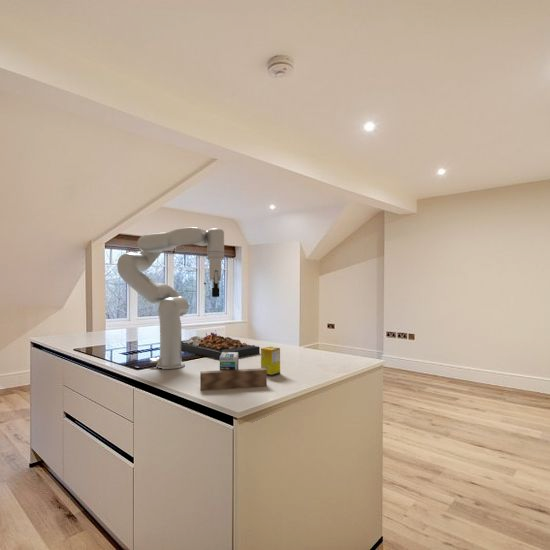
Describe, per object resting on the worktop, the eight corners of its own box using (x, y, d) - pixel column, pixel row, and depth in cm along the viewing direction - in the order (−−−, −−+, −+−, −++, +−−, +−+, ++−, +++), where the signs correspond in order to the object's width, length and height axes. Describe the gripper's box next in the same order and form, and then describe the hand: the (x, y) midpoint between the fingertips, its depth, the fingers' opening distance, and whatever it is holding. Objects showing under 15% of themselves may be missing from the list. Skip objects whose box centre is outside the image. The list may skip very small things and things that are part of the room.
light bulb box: (237, 386, 136) (237, 356, 136) (219, 386, 136) (219, 357, 136) (238, 378, 147) (238, 351, 147) (221, 378, 147) (221, 351, 147)
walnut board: (200, 390, 131) (200, 373, 131) (200, 388, 134) (200, 371, 134) (266, 386, 136) (266, 369, 136) (265, 384, 139) (265, 368, 139)
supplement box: (269, 371, 158) (269, 346, 158) (280, 373, 154) (280, 347, 154) (260, 374, 153) (260, 348, 154) (271, 376, 150) (271, 349, 150)
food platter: (175, 350, 213) (175, 332, 213) (210, 345, 230) (211, 328, 230) (223, 361, 181) (223, 340, 181) (259, 354, 198) (259, 335, 199)
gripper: (206, 257, 172) (206, 296, 172) (207, 254, 158) (207, 297, 157) (222, 257, 174) (222, 296, 174) (225, 255, 159) (225, 297, 159)
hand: (215, 296), depth 166 cm, fingers closed
